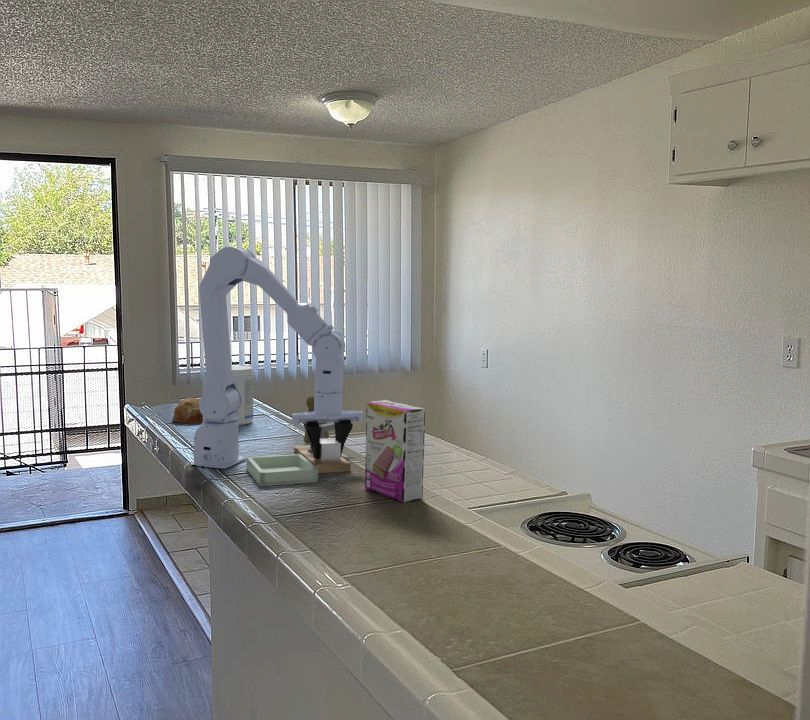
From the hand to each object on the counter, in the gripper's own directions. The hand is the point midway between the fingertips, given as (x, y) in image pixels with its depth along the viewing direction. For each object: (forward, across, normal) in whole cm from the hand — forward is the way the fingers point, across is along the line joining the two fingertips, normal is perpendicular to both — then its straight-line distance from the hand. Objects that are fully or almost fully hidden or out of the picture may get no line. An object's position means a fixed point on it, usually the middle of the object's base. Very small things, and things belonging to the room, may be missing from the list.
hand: (327, 457), depth 155 cm
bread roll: (+2, -19, +58) cm, 62 cm away
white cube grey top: (0, 0, 0) cm, 0 cm away
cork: (+2, +5, +26) cm, 26 cm away
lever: (0, +3, +10) cm, 11 cm away
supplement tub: (+2, -9, +52) cm, 53 cm away
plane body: (+2, 0, +4) cm, 5 cm away
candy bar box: (+2, +6, -23) cm, 23 cm away
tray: (+2, -10, -4) cm, 11 cm away
